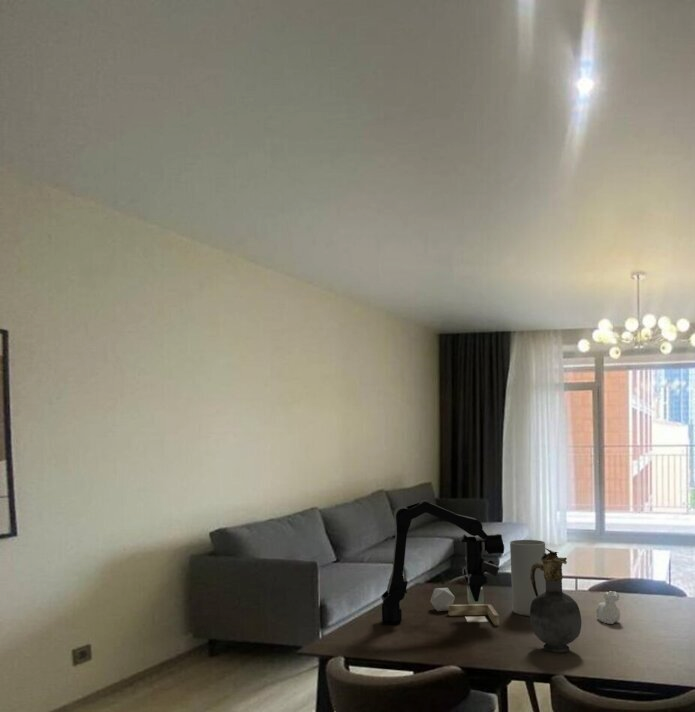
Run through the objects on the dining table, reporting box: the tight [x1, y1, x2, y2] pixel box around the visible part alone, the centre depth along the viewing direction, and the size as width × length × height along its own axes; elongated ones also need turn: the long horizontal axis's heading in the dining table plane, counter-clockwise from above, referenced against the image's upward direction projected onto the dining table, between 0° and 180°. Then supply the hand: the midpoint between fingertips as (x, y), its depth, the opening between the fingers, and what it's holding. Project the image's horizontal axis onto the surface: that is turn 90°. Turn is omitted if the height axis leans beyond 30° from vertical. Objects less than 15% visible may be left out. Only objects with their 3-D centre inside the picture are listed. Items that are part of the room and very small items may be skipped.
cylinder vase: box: [509, 539, 547, 617], centre depth 284 cm, size 12×12×25 cm
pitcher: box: [529, 547, 582, 654], centre depth 240 cm, size 11×19×30 cm, turn 22°
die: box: [429, 587, 456, 612], centre depth 290 cm, size 8×9×10 cm
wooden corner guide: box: [447, 603, 500, 627], centre depth 274 cm, size 15×16×4 cm
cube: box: [466, 585, 485, 605], centre depth 274 cm, size 5×5×5 cm
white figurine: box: [595, 590, 621, 625], centre depth 268 cm, size 12×8×11 cm
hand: (475, 599), depth 274 cm, fingers closed on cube, 5 cm apart
